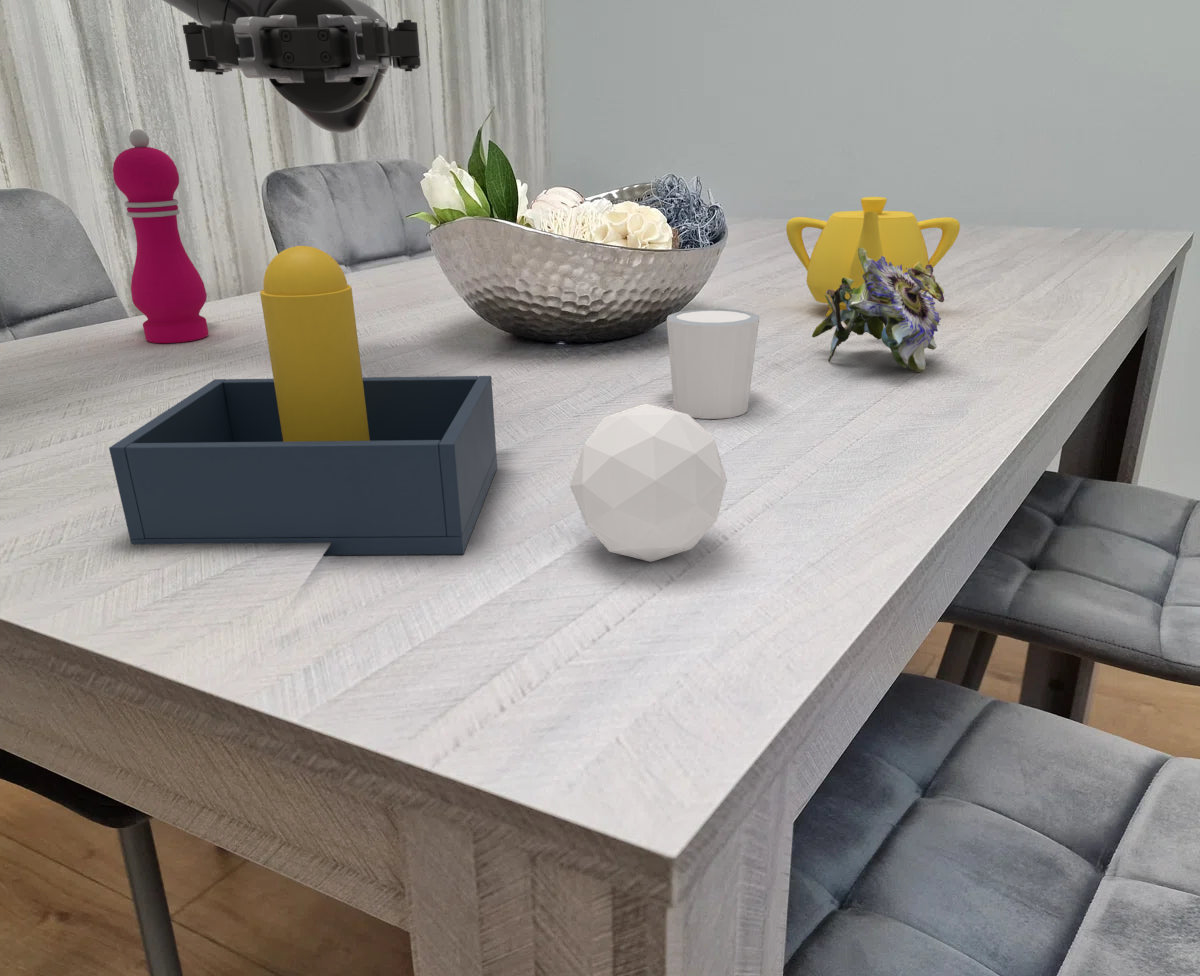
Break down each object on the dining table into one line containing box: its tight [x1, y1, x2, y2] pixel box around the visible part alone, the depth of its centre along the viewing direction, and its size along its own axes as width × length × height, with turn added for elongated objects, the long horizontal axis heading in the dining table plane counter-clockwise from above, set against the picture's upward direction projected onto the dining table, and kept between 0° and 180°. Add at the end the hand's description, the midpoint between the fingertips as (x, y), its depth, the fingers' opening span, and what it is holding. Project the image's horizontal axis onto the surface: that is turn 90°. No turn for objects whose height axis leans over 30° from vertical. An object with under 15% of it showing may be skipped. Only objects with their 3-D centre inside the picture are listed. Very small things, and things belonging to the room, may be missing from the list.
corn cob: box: [259, 245, 370, 442], centre depth 58 cm, size 5×5×14 cm
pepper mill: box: [112, 128, 209, 344], centre depth 105 cm, size 7×7×20 cm
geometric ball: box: [569, 403, 728, 563], centre depth 53 cm, size 8×8×8 cm
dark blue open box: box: [108, 375, 498, 556], centre depth 60 cm, size 18×15×6 cm
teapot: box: [785, 196, 961, 318], centre depth 112 cm, size 14×14×12 cm
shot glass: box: [666, 308, 760, 420], centre depth 78 cm, size 7×7×7 cm
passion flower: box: [811, 247, 945, 373], centre depth 90 cm, size 11×11×12 cm
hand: (294, 40), depth 61 cm, fingers open, 8 cm apart
